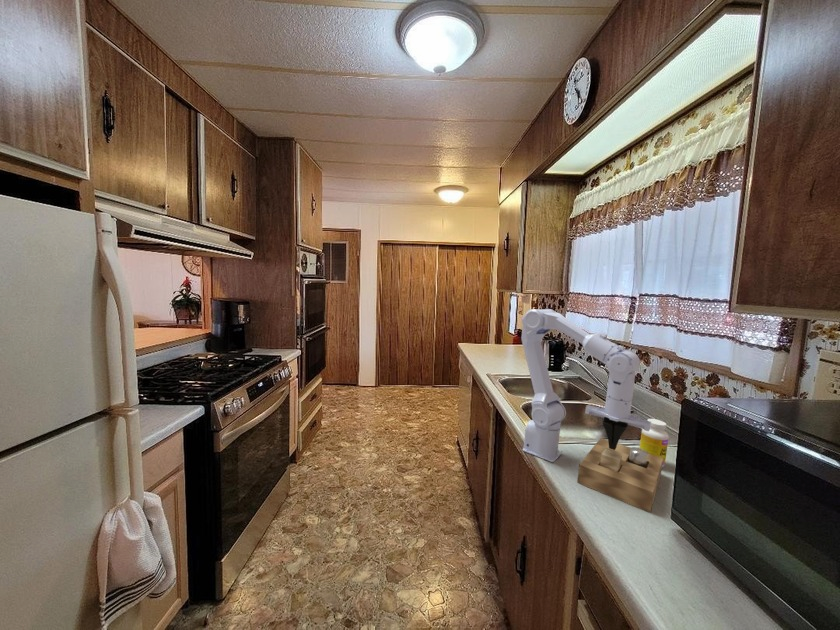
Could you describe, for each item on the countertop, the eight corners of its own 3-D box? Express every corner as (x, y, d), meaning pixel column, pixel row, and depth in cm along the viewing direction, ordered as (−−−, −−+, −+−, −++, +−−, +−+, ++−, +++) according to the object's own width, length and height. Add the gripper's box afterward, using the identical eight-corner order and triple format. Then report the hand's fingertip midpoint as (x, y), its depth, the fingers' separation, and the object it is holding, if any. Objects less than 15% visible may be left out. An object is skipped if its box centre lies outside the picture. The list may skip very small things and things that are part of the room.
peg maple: (599, 471, 89) (601, 454, 89) (602, 465, 92) (605, 448, 92) (616, 477, 86) (618, 460, 86) (619, 471, 89) (622, 454, 89)
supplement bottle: (660, 471, 97) (667, 428, 96) (634, 461, 102) (640, 420, 101) (667, 464, 102) (673, 423, 100) (641, 454, 106) (647, 415, 105)
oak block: (577, 482, 89) (579, 464, 88) (598, 453, 106) (600, 438, 105) (650, 512, 79) (653, 492, 78) (660, 474, 95) (663, 458, 95)
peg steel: (626, 467, 92) (629, 450, 91) (629, 462, 95) (631, 445, 94) (644, 473, 89) (646, 456, 89) (646, 468, 92) (648, 451, 92)
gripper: (584, 393, 89) (578, 442, 90) (650, 409, 79) (643, 464, 81) (591, 387, 94) (586, 434, 96) (654, 402, 85) (647, 454, 86)
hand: (612, 447), depth 89 cm, fingers closed
